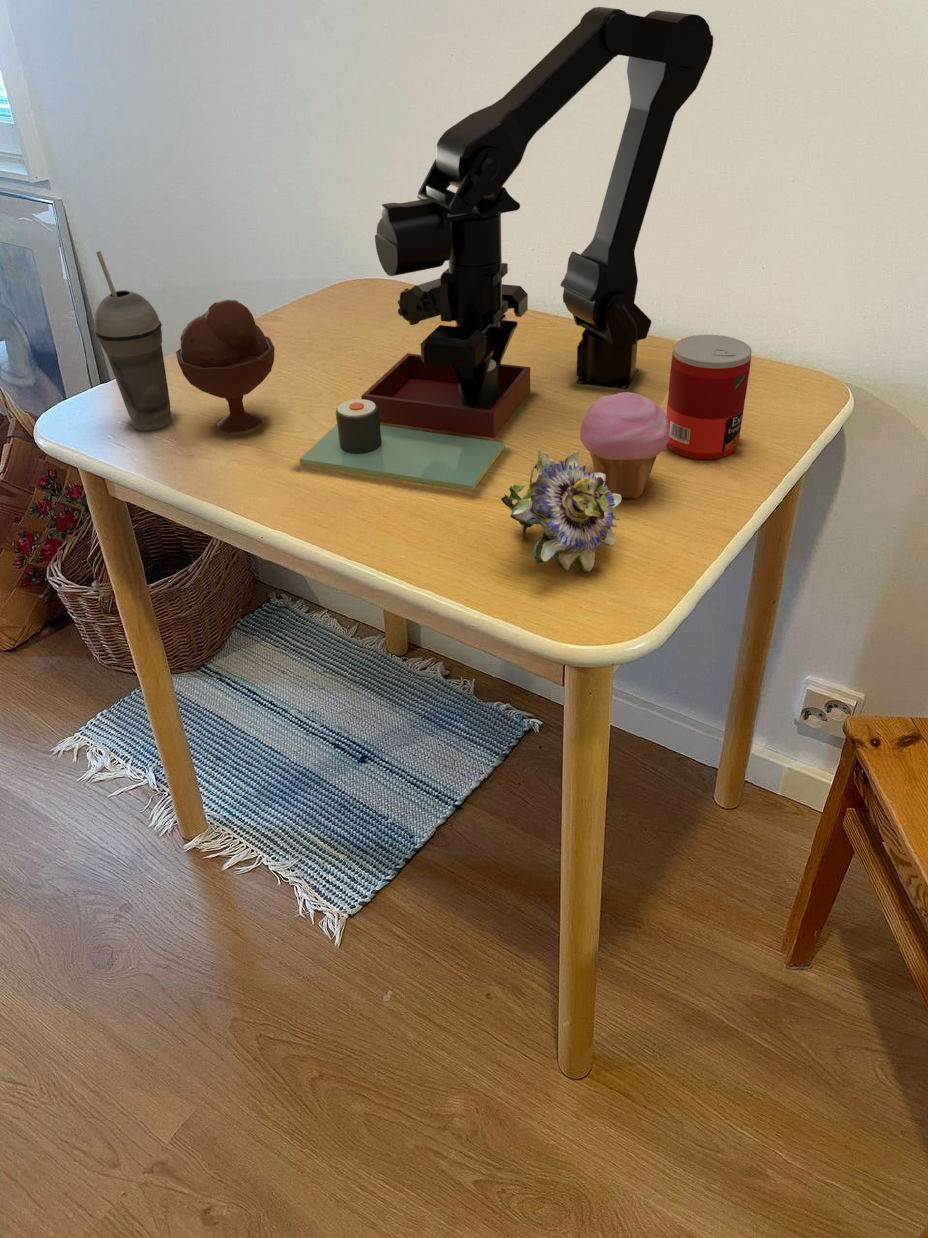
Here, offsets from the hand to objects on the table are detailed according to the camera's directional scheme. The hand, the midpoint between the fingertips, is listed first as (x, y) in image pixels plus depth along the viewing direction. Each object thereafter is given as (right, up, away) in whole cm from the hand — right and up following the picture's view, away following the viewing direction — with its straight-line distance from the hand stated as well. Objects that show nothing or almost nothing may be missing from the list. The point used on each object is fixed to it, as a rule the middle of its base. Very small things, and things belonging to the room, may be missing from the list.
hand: (479, 394), depth 112 cm
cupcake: (+14, -13, -14) cm, 24 cm away
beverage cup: (-39, -3, +3) cm, 39 cm away
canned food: (+24, -7, -7) cm, 26 cm away
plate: (-8, -9, -7) cm, 14 cm away
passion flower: (+7, -20, -22) cm, 31 cm away
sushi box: (-4, -1, +3) cm, 5 cm away
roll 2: (0, -1, 0) cm, 1 cm away
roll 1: (-13, -7, -6) cm, 16 cm away
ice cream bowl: (-28, -4, +1) cm, 28 cm away
